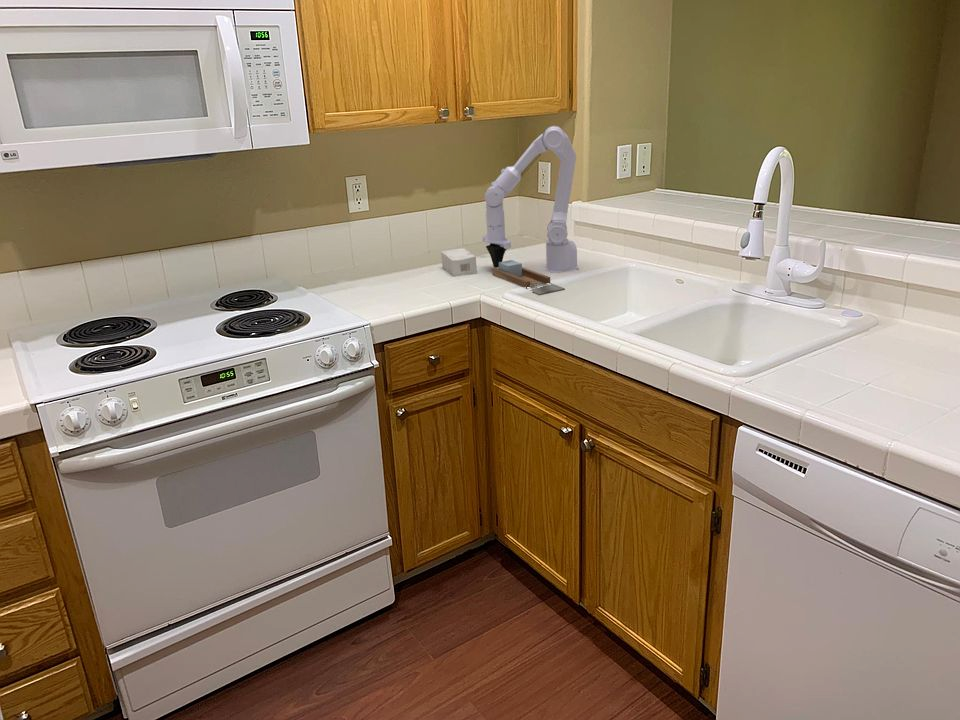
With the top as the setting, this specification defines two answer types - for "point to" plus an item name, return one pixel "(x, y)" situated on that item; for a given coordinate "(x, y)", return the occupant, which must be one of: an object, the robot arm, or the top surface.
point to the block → (511, 267)
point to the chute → (529, 280)
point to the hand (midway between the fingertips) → (497, 266)
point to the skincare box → (459, 262)
